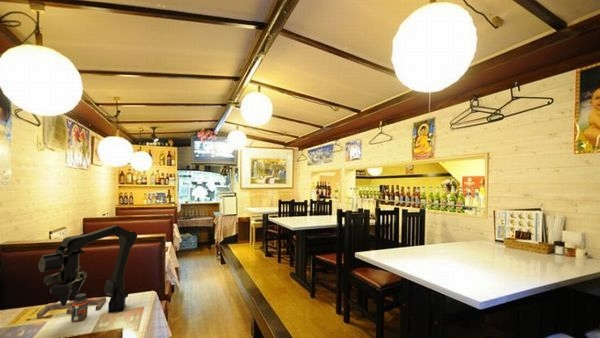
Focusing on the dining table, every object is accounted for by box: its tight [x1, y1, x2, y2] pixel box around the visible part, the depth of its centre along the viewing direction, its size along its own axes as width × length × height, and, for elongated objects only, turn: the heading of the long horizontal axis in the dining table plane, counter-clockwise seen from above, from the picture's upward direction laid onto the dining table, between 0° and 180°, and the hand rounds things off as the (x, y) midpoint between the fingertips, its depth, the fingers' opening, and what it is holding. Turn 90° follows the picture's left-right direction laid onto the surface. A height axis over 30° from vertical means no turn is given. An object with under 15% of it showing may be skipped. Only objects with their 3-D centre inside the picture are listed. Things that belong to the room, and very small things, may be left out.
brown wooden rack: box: [36, 296, 107, 319], centre depth 139 cm, size 25×10×3 cm, turn 110°
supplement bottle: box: [70, 293, 89, 323], centre depth 129 cm, size 6×6×11 cm
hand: (69, 301), depth 121 cm, fingers open, 9 cm apart
